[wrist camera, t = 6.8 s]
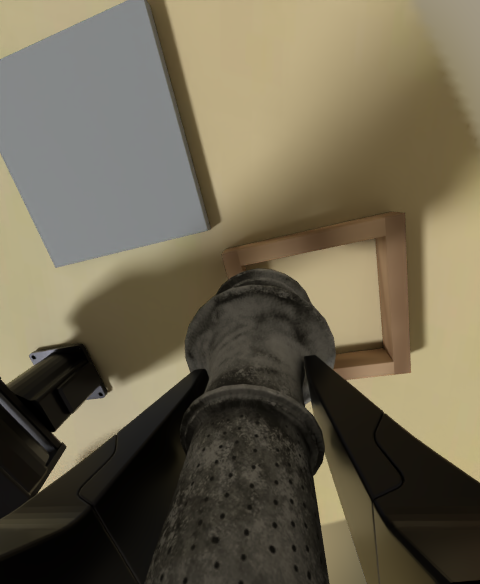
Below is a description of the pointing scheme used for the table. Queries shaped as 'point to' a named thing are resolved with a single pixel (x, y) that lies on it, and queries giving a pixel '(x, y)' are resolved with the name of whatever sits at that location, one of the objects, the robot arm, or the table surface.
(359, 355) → the frame
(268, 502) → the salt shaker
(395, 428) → the robot arm
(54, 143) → the grey mat
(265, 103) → the table surface
